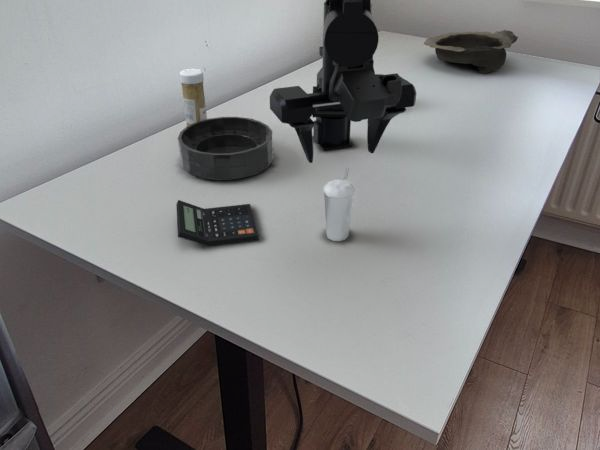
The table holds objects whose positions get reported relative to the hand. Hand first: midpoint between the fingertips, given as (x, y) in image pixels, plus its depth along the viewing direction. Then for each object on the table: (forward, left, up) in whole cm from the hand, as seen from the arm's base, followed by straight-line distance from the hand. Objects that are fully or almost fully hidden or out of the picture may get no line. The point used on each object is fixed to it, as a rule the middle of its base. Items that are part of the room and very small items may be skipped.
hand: (340, 156), depth 76 cm
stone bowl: (-68, -67, -13) cm, 96 cm away
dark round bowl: (+10, -30, -13) cm, 34 cm away
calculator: (+17, -8, -13) cm, 23 cm away
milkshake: (0, 0, -13) cm, 13 cm away
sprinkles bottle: (+13, -44, -13) cm, 48 cm away
